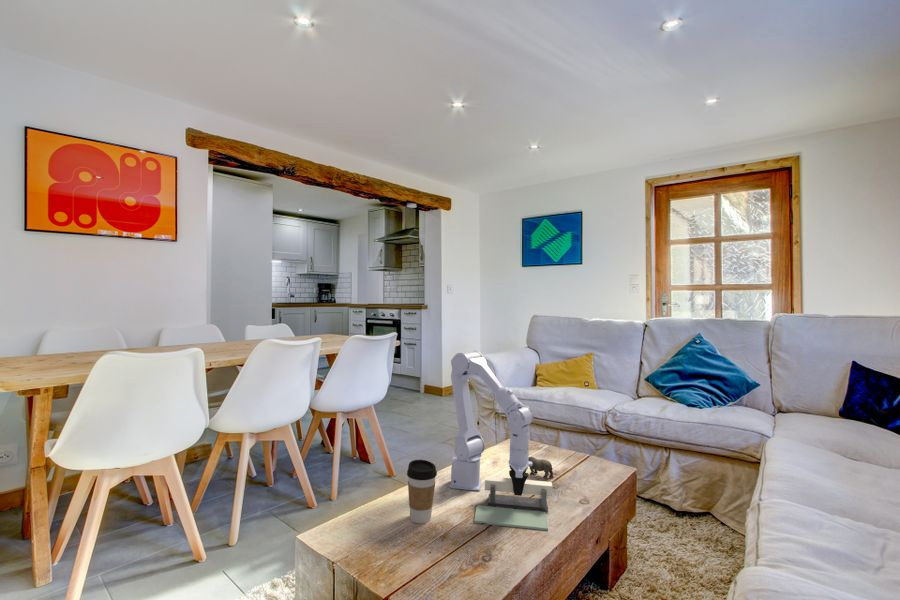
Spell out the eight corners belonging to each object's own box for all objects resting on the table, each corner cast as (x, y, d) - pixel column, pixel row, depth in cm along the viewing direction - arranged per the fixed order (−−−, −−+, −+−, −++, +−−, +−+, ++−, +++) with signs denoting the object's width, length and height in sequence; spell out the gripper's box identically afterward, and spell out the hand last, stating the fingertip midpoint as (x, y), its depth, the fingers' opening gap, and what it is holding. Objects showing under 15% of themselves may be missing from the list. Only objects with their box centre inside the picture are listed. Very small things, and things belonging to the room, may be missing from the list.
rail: (484, 489, 130) (484, 480, 130) (485, 485, 133) (485, 476, 133) (552, 496, 127) (552, 486, 127) (551, 491, 130) (551, 482, 130)
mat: (474, 522, 119) (474, 520, 119) (476, 507, 128) (476, 505, 128) (548, 530, 116) (548, 528, 116) (545, 514, 125) (545, 512, 125)
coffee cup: (422, 507, 126) (423, 456, 126) (441, 518, 120) (443, 465, 120) (399, 517, 121) (400, 463, 120) (418, 529, 114) (420, 473, 114)
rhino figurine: (517, 468, 159) (518, 451, 159) (554, 476, 152) (555, 459, 152) (513, 471, 155) (514, 455, 155) (551, 480, 148) (551, 463, 148)
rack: (487, 506, 128) (488, 486, 128) (489, 496, 135) (489, 477, 135) (548, 512, 126) (548, 492, 126) (546, 501, 133) (546, 482, 133)
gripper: (533, 457, 123) (532, 504, 123) (531, 440, 137) (530, 483, 137) (508, 454, 124) (507, 502, 124) (509, 438, 138) (508, 480, 138)
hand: (517, 491), depth 130 cm, fingers open, 4 cm apart
